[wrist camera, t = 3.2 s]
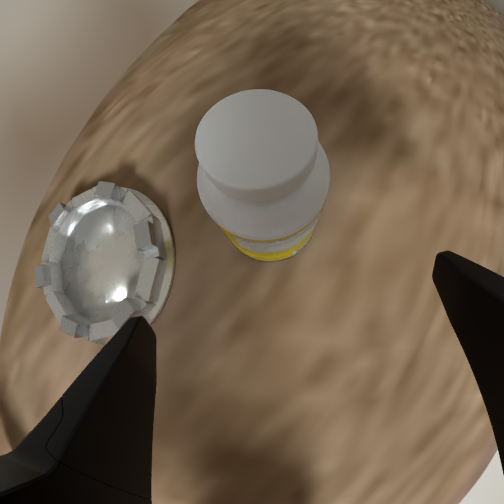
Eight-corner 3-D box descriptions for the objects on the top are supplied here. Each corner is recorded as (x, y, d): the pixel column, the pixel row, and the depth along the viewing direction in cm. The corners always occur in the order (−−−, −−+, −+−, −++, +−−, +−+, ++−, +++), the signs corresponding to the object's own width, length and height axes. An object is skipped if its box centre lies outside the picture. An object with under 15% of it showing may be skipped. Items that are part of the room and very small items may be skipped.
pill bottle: (248, 170, 22) (216, 62, 11) (326, 198, 21) (359, 97, 10) (214, 245, 21) (142, 181, 10) (296, 278, 20) (309, 243, 9)
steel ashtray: (210, 260, 21) (198, 253, 18) (105, 375, 20) (84, 381, 17) (116, 162, 24) (99, 147, 21) (36, 265, 23) (15, 260, 20)
